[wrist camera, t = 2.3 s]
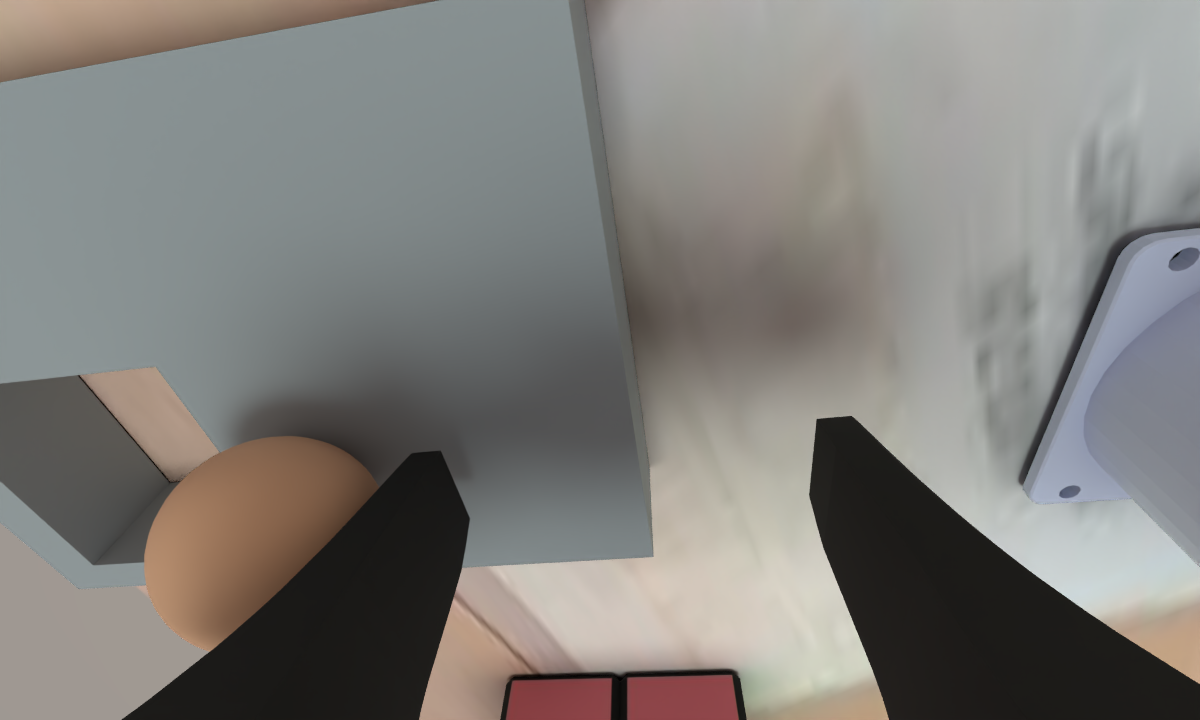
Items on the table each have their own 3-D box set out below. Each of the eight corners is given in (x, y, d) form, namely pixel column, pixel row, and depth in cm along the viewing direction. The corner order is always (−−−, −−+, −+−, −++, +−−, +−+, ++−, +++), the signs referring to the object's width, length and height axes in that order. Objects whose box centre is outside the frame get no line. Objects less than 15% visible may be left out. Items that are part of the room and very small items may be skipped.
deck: (581, -21, 9) (564, -24, 7) (649, 468, 16) (653, 556, 14) (-196, 123, 11) (-427, 161, 9) (153, 506, 18) (78, 588, 16)
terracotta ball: (375, 386, 11) (265, 561, 8) (438, 517, 13) (374, 696, 10) (195, 404, 11) (17, 576, 8) (285, 527, 14) (175, 702, 10)
